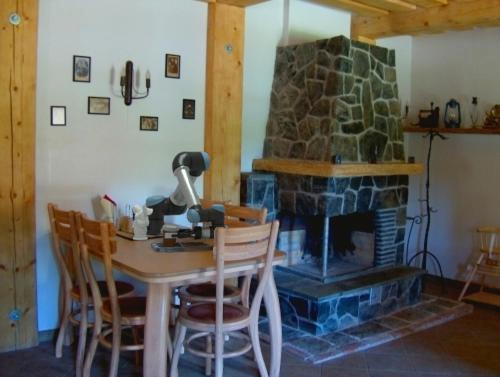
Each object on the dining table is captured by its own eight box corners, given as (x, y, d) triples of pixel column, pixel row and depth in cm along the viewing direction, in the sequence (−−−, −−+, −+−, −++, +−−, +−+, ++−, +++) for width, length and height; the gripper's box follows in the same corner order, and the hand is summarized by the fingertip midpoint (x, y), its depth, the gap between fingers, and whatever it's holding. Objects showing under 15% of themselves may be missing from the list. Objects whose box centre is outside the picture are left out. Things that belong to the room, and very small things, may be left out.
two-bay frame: (150, 245, 326) (150, 242, 326) (204, 243, 336) (204, 240, 336) (156, 252, 307) (156, 249, 307) (212, 250, 317) (213, 247, 317)
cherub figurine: (129, 238, 346) (129, 201, 345) (148, 236, 354) (148, 201, 352) (138, 241, 337) (139, 203, 335) (157, 239, 344) (158, 202, 342)
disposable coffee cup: (156, 246, 320) (158, 225, 318) (167, 244, 328) (169, 223, 327) (170, 250, 315) (172, 228, 314) (180, 247, 324) (182, 226, 322)
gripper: (206, 243, 313) (166, 244, 306) (195, 235, 336) (158, 236, 329) (206, 229, 312) (167, 230, 306) (196, 222, 336) (159, 223, 329)
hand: (162, 233), depth 317 cm, fingers open, 12 cm apart
